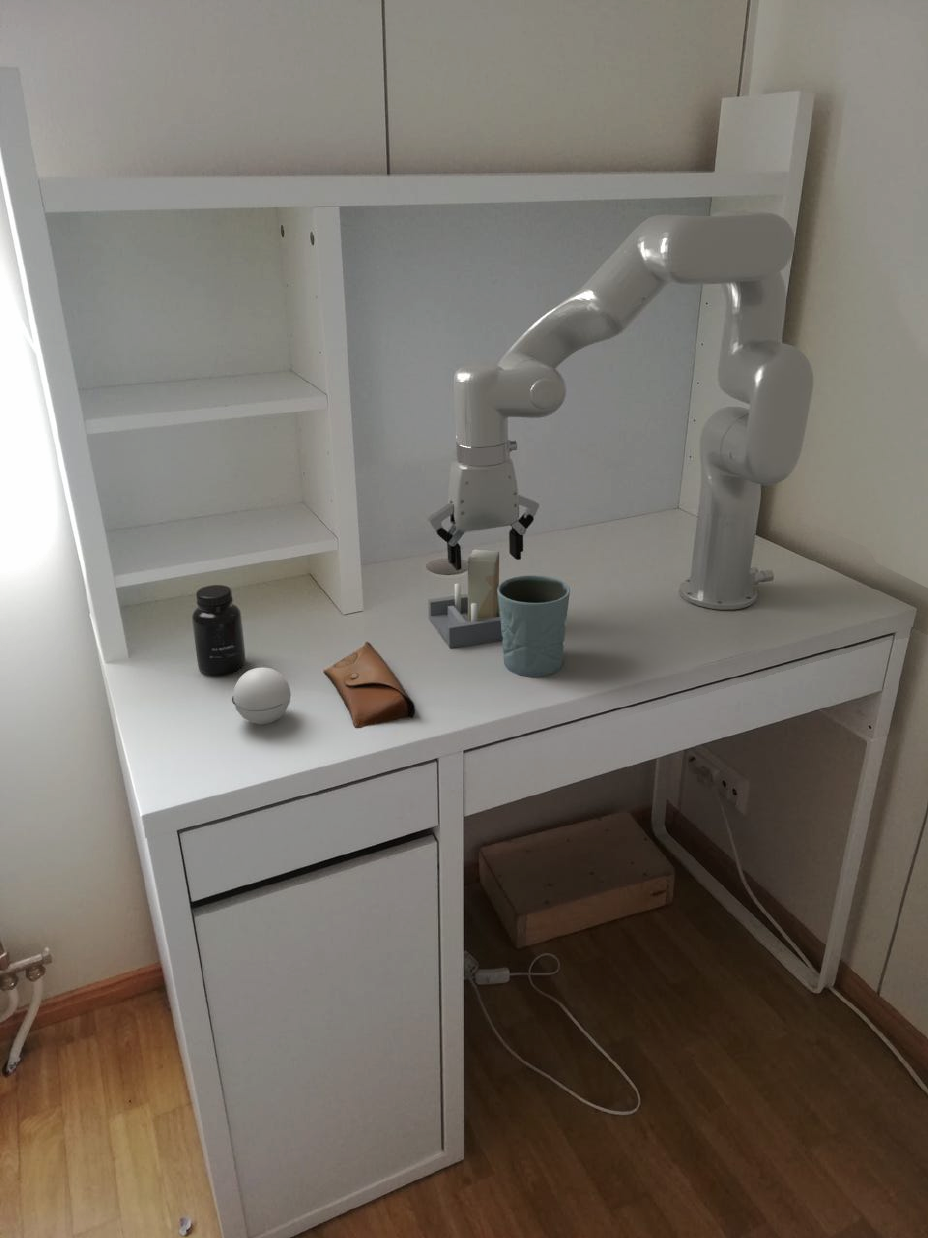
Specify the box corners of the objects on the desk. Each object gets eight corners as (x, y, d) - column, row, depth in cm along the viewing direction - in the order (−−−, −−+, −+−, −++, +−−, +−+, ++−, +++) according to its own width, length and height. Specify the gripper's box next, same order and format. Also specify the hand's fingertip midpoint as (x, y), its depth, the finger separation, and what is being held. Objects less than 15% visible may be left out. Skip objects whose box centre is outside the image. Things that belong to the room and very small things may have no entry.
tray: (509, 606, 151) (510, 573, 148) (535, 634, 141) (536, 599, 139) (428, 618, 147) (427, 584, 144) (449, 648, 137) (449, 612, 135)
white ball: (252, 702, 123) (246, 654, 120) (302, 710, 122) (297, 661, 118) (214, 741, 115) (206, 690, 112) (267, 750, 113) (261, 699, 110)
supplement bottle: (222, 682, 128) (212, 605, 123) (188, 670, 132) (177, 594, 127) (256, 662, 134) (248, 587, 129) (223, 651, 137) (213, 578, 132)
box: (494, 628, 141) (494, 562, 136) (466, 626, 142) (466, 560, 137) (499, 614, 146) (499, 549, 141) (472, 612, 147) (472, 548, 142)
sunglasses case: (317, 669, 132) (338, 629, 130) (359, 682, 135) (379, 643, 134) (355, 730, 117) (378, 686, 115) (400, 743, 120) (423, 700, 119)
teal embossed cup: (579, 669, 131) (584, 593, 126) (521, 687, 127) (522, 609, 122) (540, 642, 139) (543, 569, 134) (483, 657, 135) (484, 583, 130)
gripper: (527, 439, 138) (528, 545, 145) (418, 454, 133) (425, 562, 141) (547, 451, 131) (547, 561, 139) (433, 467, 127) (439, 580, 134)
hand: (486, 561), depth 140 cm, fingers open, 9 cm apart
